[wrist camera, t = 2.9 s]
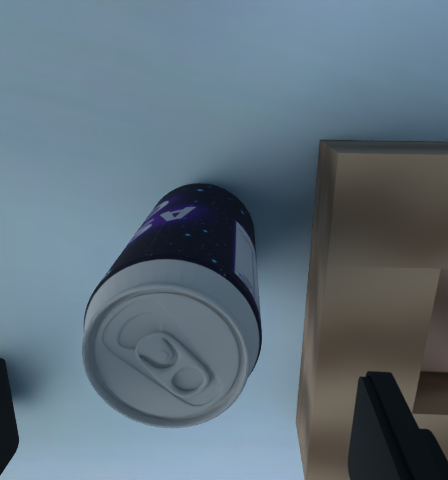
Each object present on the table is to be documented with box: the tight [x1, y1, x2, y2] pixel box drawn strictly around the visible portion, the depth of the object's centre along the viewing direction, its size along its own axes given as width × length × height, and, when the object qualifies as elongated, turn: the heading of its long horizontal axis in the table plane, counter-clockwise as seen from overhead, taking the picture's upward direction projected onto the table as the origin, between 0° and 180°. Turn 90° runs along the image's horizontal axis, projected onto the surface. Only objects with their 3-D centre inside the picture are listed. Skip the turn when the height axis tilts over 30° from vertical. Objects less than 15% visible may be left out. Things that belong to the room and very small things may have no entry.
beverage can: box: [82, 183, 262, 428], centre depth 18 cm, size 6×6×12 cm
